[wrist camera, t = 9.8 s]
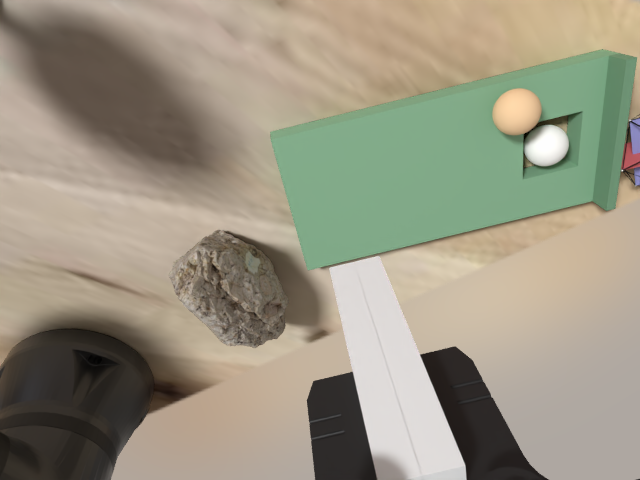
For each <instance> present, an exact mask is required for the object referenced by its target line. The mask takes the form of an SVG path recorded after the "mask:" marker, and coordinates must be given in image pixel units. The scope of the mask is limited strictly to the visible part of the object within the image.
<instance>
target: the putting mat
mask: <svg viewBox="0 0 640 480" xmlns="http://www.w3.org/2000/svg"><path fill="white" fill-rule="evenodd" d="M636 62H637V57H633V56H629V55H625V54H620V53H616V52H612V51H608V50H603V49H602V50H598V51H594V52H590V53H586V54H582V55H578V56H574V57H570V58H566V59H562V60H558V61H554V62H550V63H546V64H542V65H538V66H534V67H530V68H526V69H522V70H518V71H514V72H510V73H506V74H502V75H498V76H494V77H490V78H485V79H481V80H477V81H473V82H469V83H465V84H461V85H457V86H453V87H449V88H445V89H441V90H437V91H433V92H429V93H425V94H421V95H417V96H413V97H409V98H405V99H401V100H397V101H393V102H389V103H385V104H381V105H377V106H373V107H369V108H365V109H361V110H357V111H353V112H349V113H345V114H341V115H337V116H333V117H329V118H325V119H321V120H317V121H313V122H309V123H305V124H301V125H297V126H293V127H289V128H285V129H281V130H276V131H272V132H270V135H271V142H272V146H273V149H274V153H275V156H276V160H277V164H278V167H279V171H280V174H281V178H282V181H283V185H284V188H285V192H286V195H287V199H288V202H289V206H290V209H291V213H292V216H293V220H294V223H295V227H296V231H297V234H298V238H299V241H300V245H301V248H302V252H303V255H304V259H305V262H306V266H307V269H308V270H312V269H316V268H320V267H324V266H328V265H332V264H336V263H340V262H344V261H349V260H353V259H357V258H361V257H365V256H369V255H373V254H377V253H381V252H385V251H390V250H394V249H398V248H402V247H406V246H410V245H414V244H418V243H422V242H427V241H431V240H435V239H439V238H443V237H447V236H451V235H455V234H459V233H464V232H468V231H472V230H476V229H480V228H484V227H488V226H492V225H496V224H501V223H505V222H509V221H513V220H517V219H521V218H525V217H529V216H533V215H538V214H542V213H546V212H550V211H554V210H558V209H562V208H566V207H570V206H575V205H579V204H583V203H587V202H591V201H593V202H594V203H596V204H597V205H599V206H600V207H601V208H603V209H604V210H606V211H608V210H612V209H615V206H616V200H617V193H618V186H619V179H620V172H621V165H622V158H623V151H624V145H625V138H626V131H627V124H628V117H629V110H630V103H631V96H632V89H633V83H634V76H635V69H636ZM517 88H522V89H527V90H530V91H531V92H533V93H534V94H535V95H536V96H537V97H538V98H539V100H540V102H541V107H542V112H541V116H540V119H539V121H538V122H541V121H545V120H549V119H553V118H557V117H561V116H565V115H568V126H567V136H568V140H569V148H568V151H567V153H566V155H565V158H564V159H562V160H560V161H559V162H558V163H556V164H554V165H550V166H538V165H535V166H531V167H527V168H523V139H524V134H521V135H508V134H505V133H503V132H501V131H500V130H499V129H498V128H497V127H496V125H495V124H494V121H493V117H492V112H493V107H494V105H495V103H496V101H497V99H498V98H499V97H500V96H501V95H502V94H504V93H505V92H507V91H509V90H512V89H517Z"/></svg>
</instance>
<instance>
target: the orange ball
mask: <svg viewBox="0 0 640 480" xmlns="http://www.w3.org/2000/svg"><path fill="white" fill-rule="evenodd" d="M541 112H542V107H541V102H540V100H539V98H538V97H537V96H536V95H535V94H534V93H533V92H531V91H530V90H527V89H522V88H517V89H512V90H509V91H507V92H505V93H504V94H502V95H501V96H500V97H499V98H498V99H497V101H496V103H495V105H494V107H493V112H492V117H493V121H494V124H495V125H496V127H497V128H498V129H499V130H500V131H501V132H503V133H505V134H508V135H521V134H524V133H526V132H528V131H530V130H531V129H532V128H533V127H534V126H535V125H536V124H537V123H538V121H539V119H540V116H541Z"/></svg>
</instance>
